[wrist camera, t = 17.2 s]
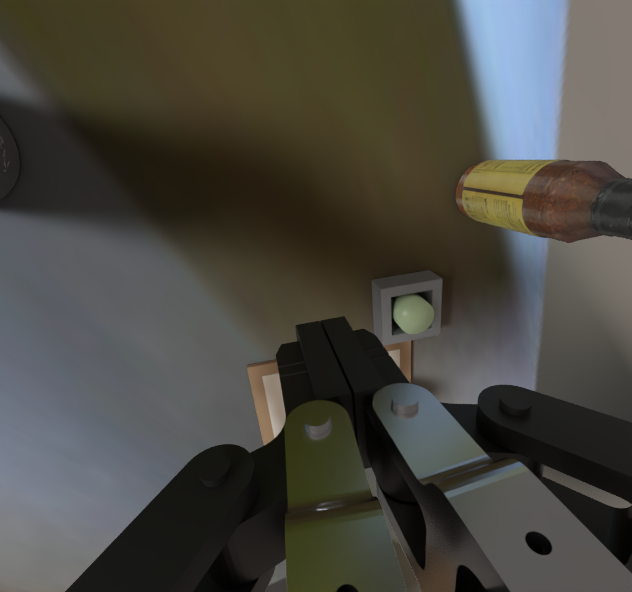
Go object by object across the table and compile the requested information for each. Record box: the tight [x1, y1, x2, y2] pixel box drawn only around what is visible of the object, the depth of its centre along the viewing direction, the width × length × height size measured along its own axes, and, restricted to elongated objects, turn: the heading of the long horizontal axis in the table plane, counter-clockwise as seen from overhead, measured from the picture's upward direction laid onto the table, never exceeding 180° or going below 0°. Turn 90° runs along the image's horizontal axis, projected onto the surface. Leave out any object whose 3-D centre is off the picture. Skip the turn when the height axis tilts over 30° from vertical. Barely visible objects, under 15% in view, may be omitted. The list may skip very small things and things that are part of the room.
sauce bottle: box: [455, 160, 632, 243], centre depth 30 cm, size 6×6×20 cm
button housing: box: [372, 270, 443, 346], centre depth 41 cm, size 7×7×3 cm
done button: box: [391, 293, 434, 334], centre depth 40 cm, size 4×4×4 cm
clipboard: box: [247, 341, 411, 445], centre depth 46 cm, size 20×15×1 cm
